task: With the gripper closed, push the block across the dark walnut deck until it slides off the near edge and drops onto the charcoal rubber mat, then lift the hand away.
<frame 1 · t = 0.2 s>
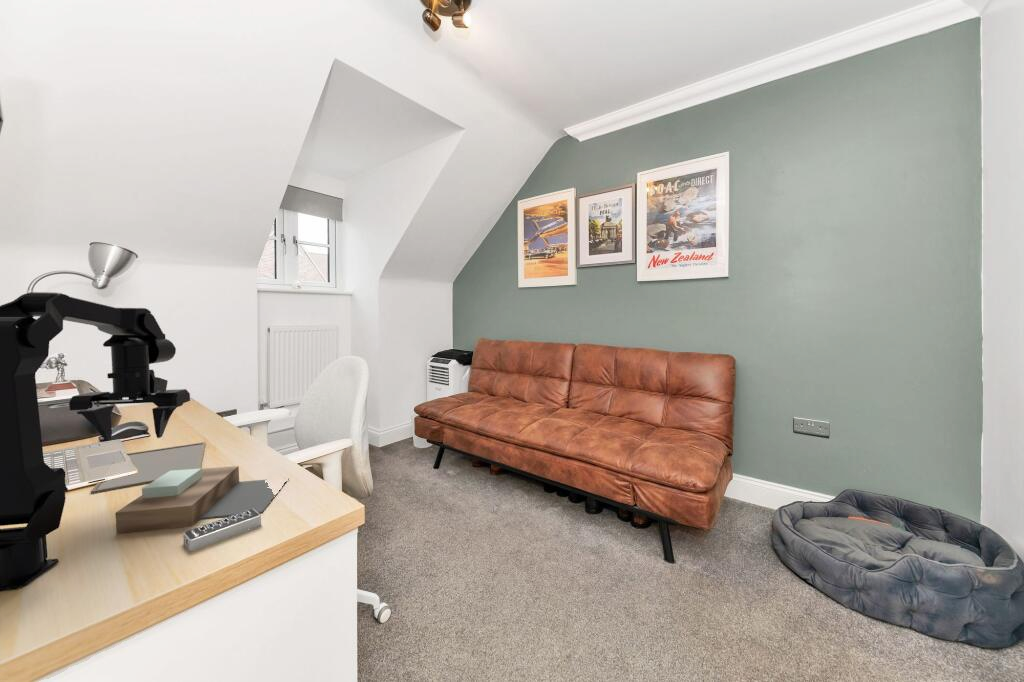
hand: (134, 438, 84), 13 cm above the table, tool pointing down, fingers open, 9 cm apart
multiport hub: (224, 536, 72), on the table
mat: (249, 496, 87), on the table
block: (174, 487, 82), point 4 cm above the table, touching deck
deck: (186, 504, 83), on the table
thin grey panel: (157, 467, 105), on the table
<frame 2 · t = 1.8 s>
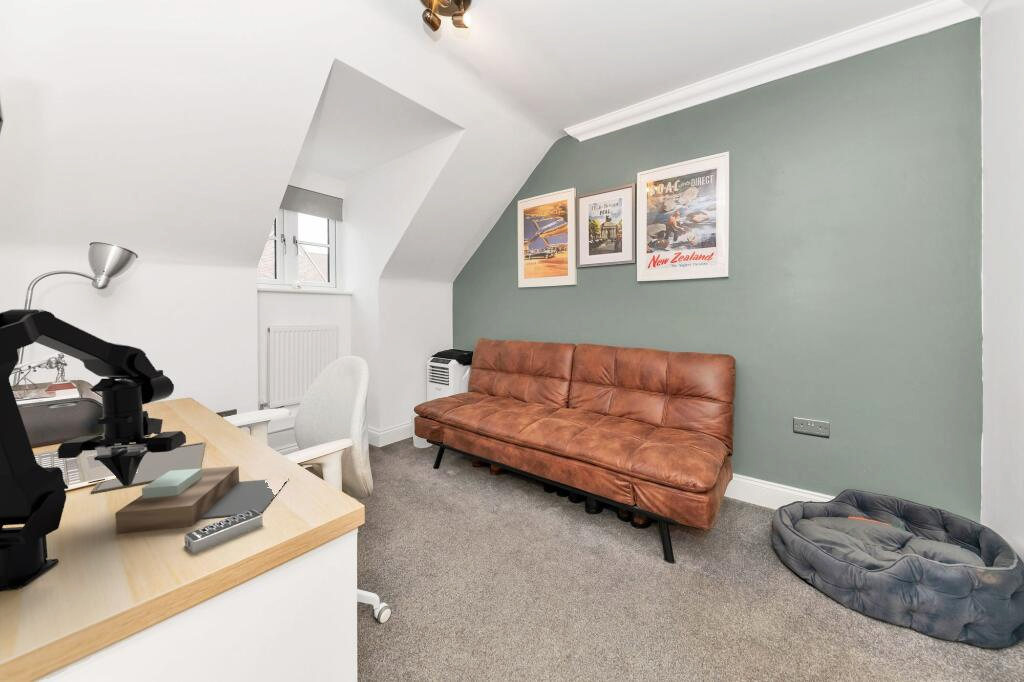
hand: (127, 484, 80), 5 cm above the table, tool pointing down, fingers closed
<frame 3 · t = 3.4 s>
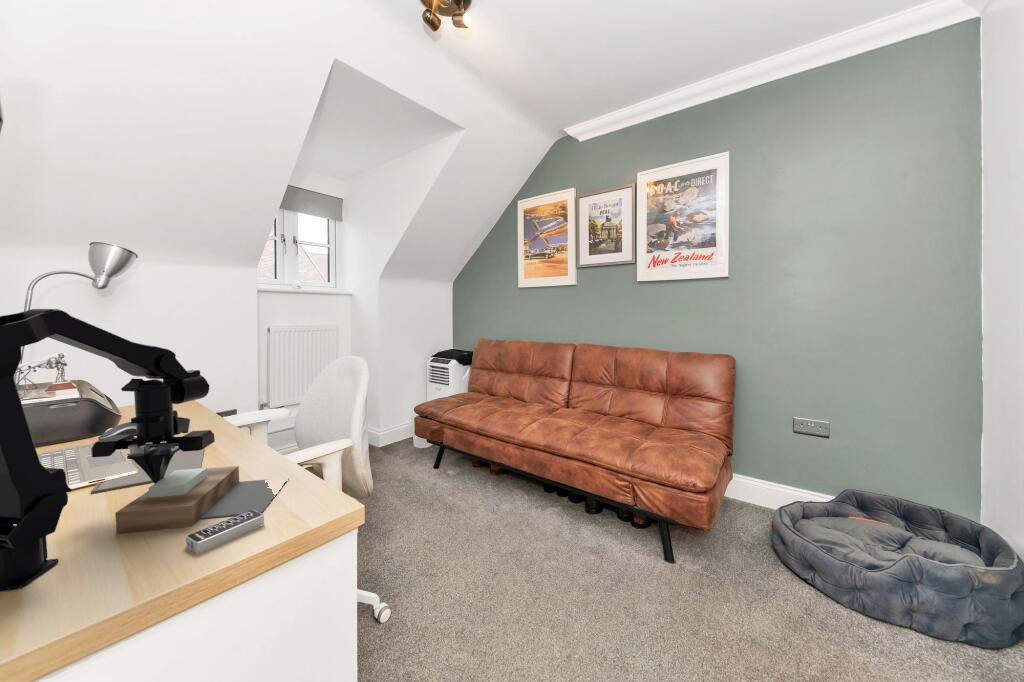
hand: (158, 483, 82), 5 cm above the table, tool pointing down, fingers closed
block: (180, 486, 83), point 4 cm above the table, touching deck, gripper
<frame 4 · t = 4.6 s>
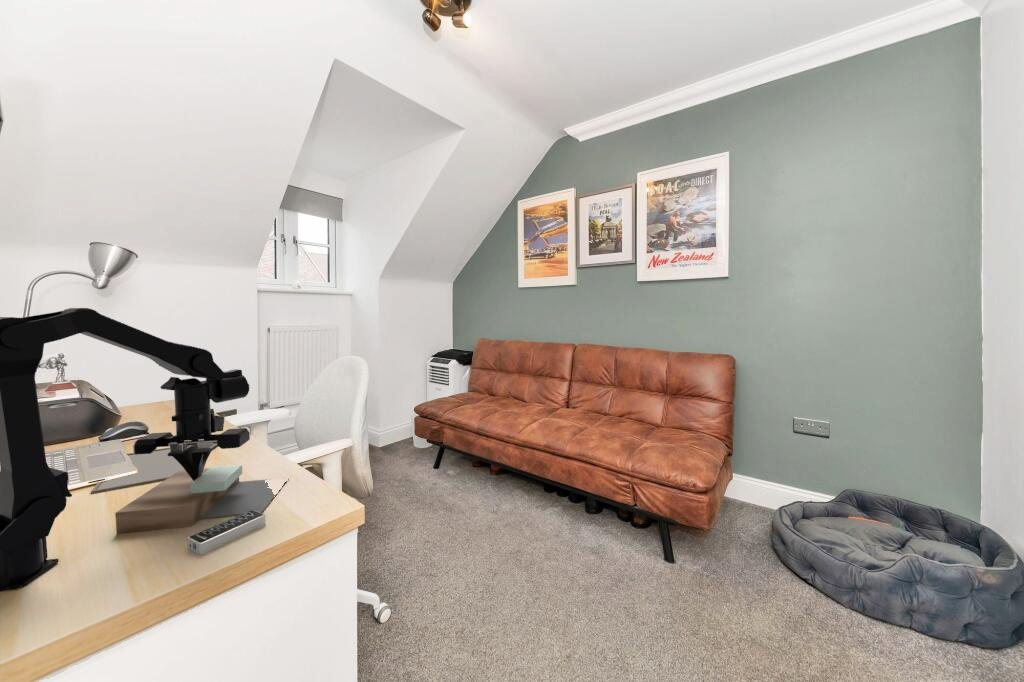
hand: (196, 480, 83), 5 cm above the table, tool pointing down, fingers closed
block: (218, 482, 84), point 4 cm above the table
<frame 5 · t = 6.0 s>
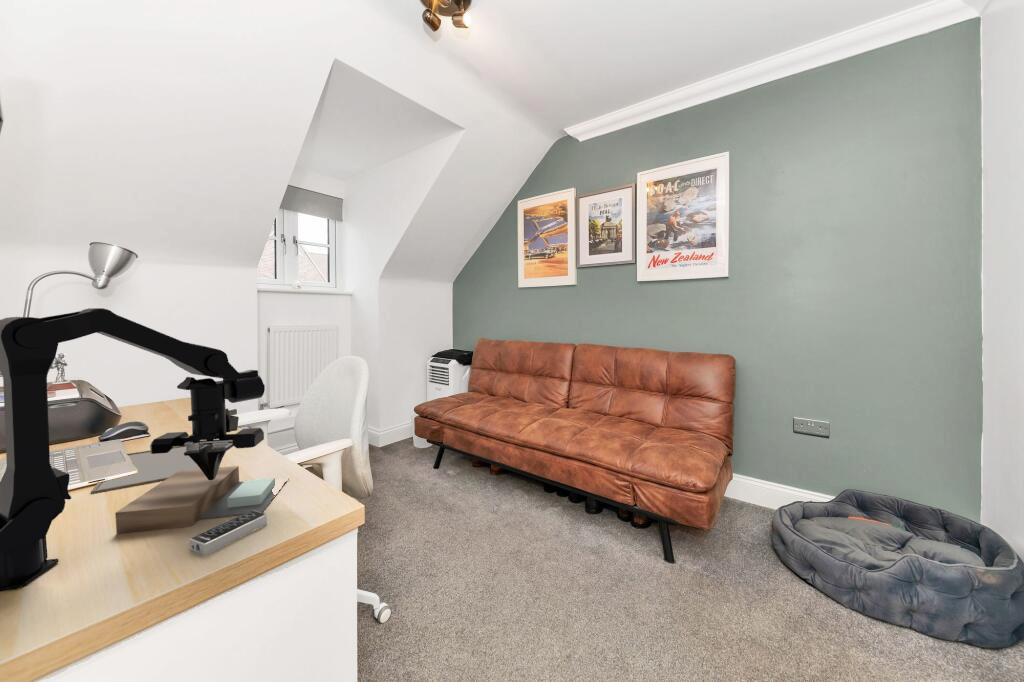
hand: (212, 479, 84), 5 cm above the table, tool pointing down, fingers closed
block: (252, 487, 86), point 2 cm above the table, tilted 180°, touching mat
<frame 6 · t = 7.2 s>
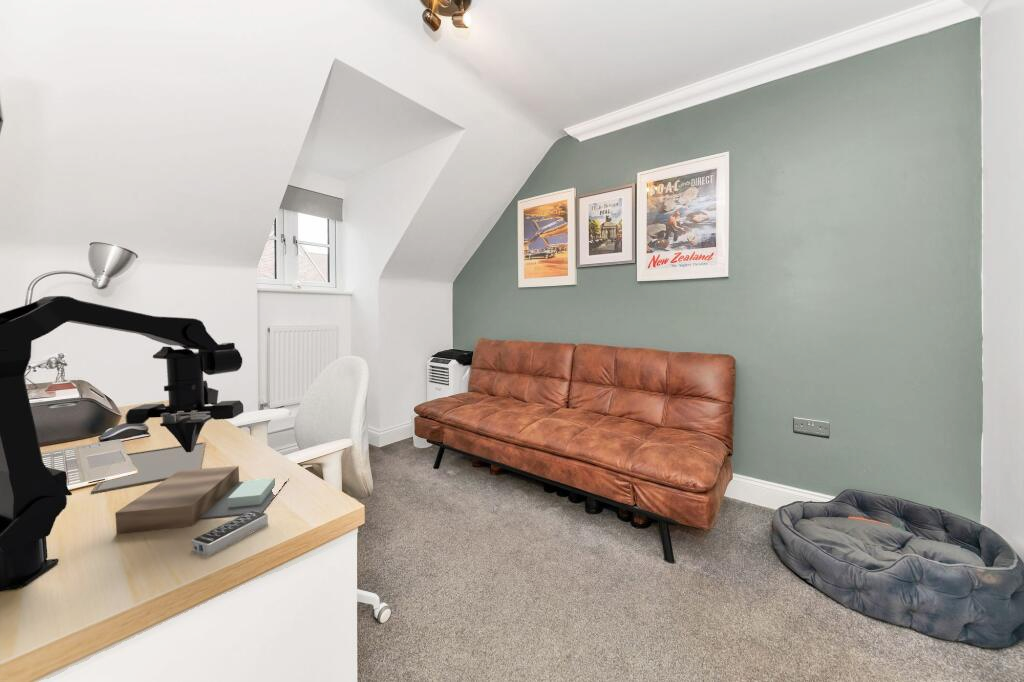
hand: (189, 451, 83), 11 cm above the table, tool pointing down, fingers closed
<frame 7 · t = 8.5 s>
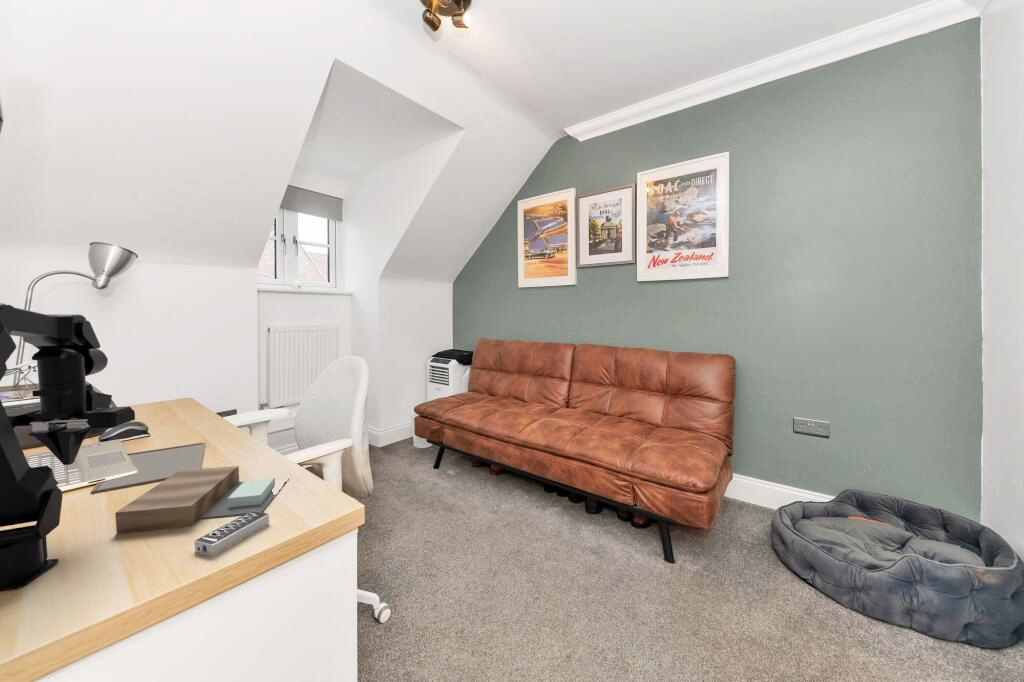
hand: (68, 464, 74), 12 cm above the table, tool pointing down, fingers closed
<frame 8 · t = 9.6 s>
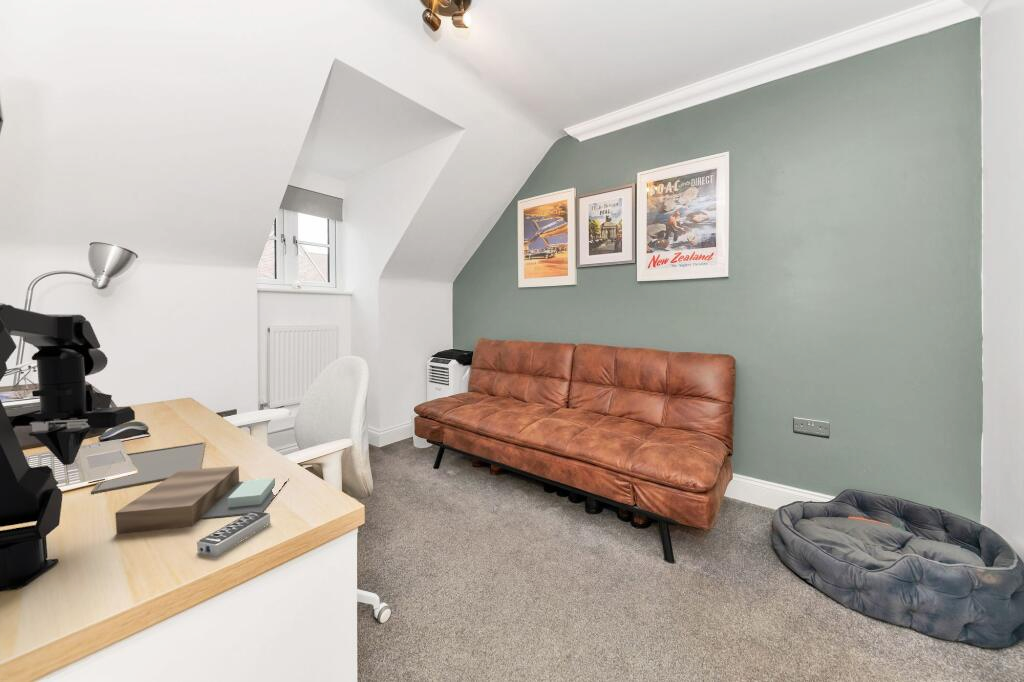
hand: (68, 464, 74), 12 cm above the table, tool pointing down, fingers closed
at the end: block point 2.3 cm above the table; block inside the target area on the mat (1.0 cm from its centre), point 2.3 cm above the mat's base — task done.
